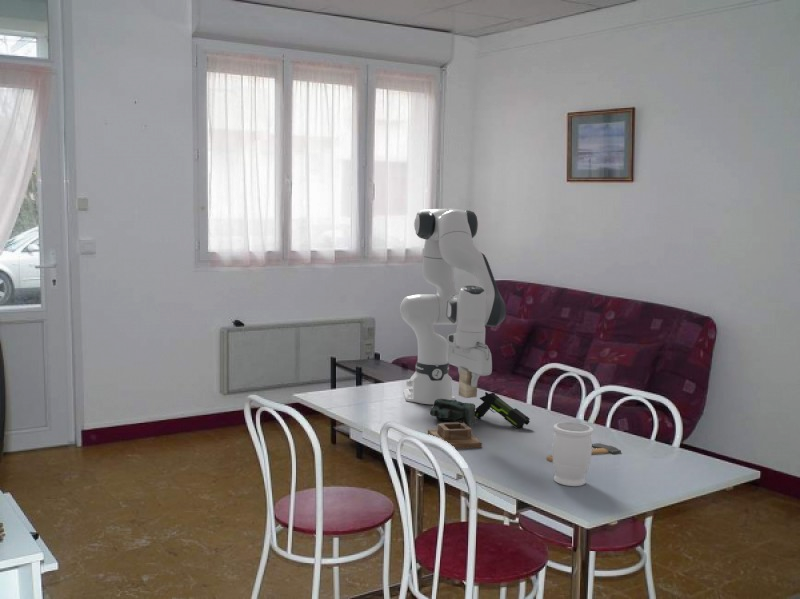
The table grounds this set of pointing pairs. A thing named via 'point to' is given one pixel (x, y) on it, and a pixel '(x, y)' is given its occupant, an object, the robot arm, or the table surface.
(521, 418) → the pistol
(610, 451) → the hand axe
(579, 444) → the jar
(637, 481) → the table surface
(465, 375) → the maple post
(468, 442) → the walnut base
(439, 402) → the sculpture
